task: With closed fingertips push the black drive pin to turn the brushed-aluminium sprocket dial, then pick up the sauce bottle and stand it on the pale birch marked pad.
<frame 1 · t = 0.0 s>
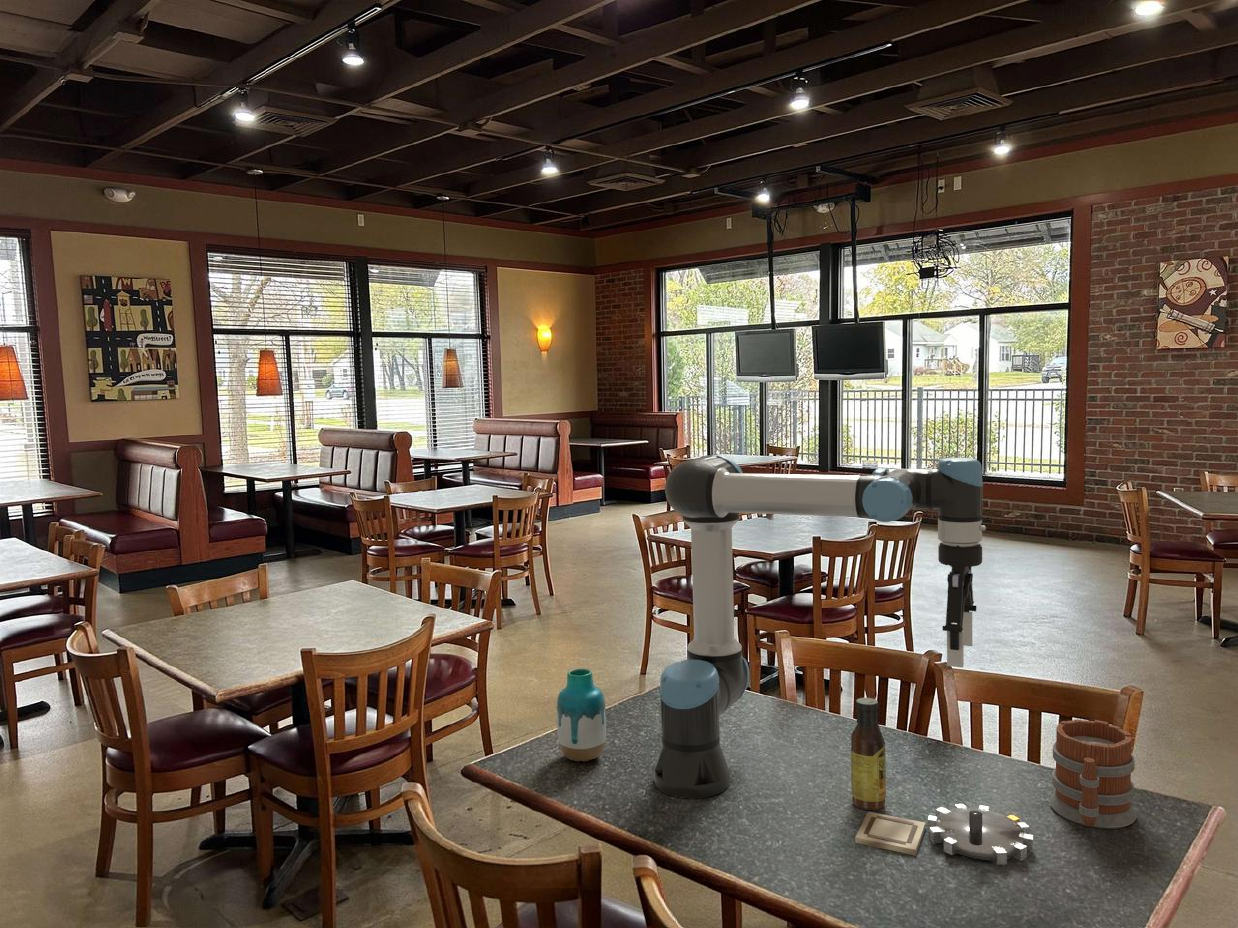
hand: (960, 655, 163), 28 cm above the table, fingers open, 13 cm apart
mug: (1091, 818, 158), on the table
marked pad: (890, 835, 154), on the table
sauce bottle: (868, 804, 165), on the table
index mark: (985, 815, 159), on the table
sprocket: (979, 817, 151), point 4 cm above the table, hinge at 0.0°
vase: (583, 758, 190), on the table
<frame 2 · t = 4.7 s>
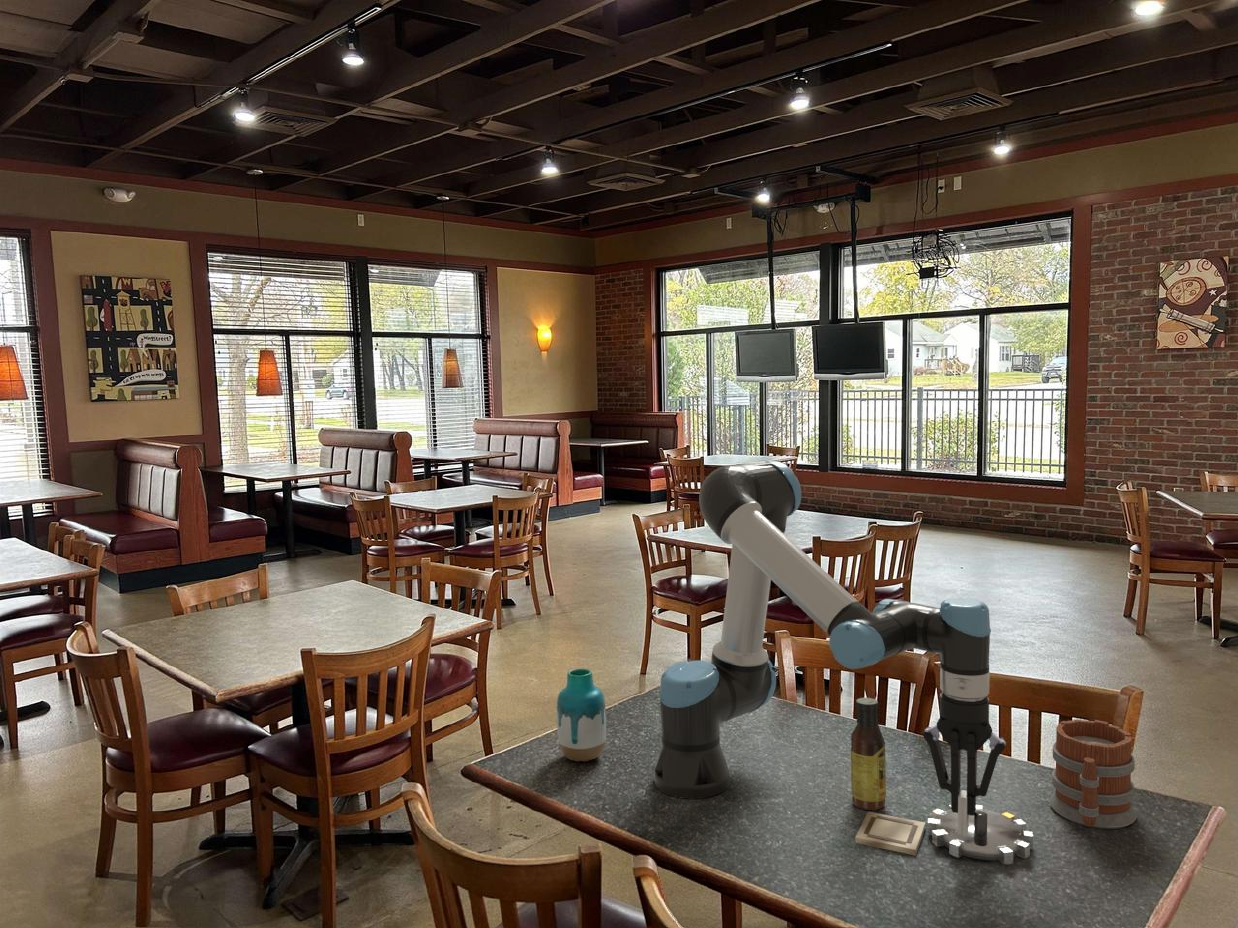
hand: (963, 831, 146), 4 cm above the table, fingers closed
sprocket: (979, 817, 151), point 4 cm above the table, hinge at 7.9°, touching gripper
everything else where it was.
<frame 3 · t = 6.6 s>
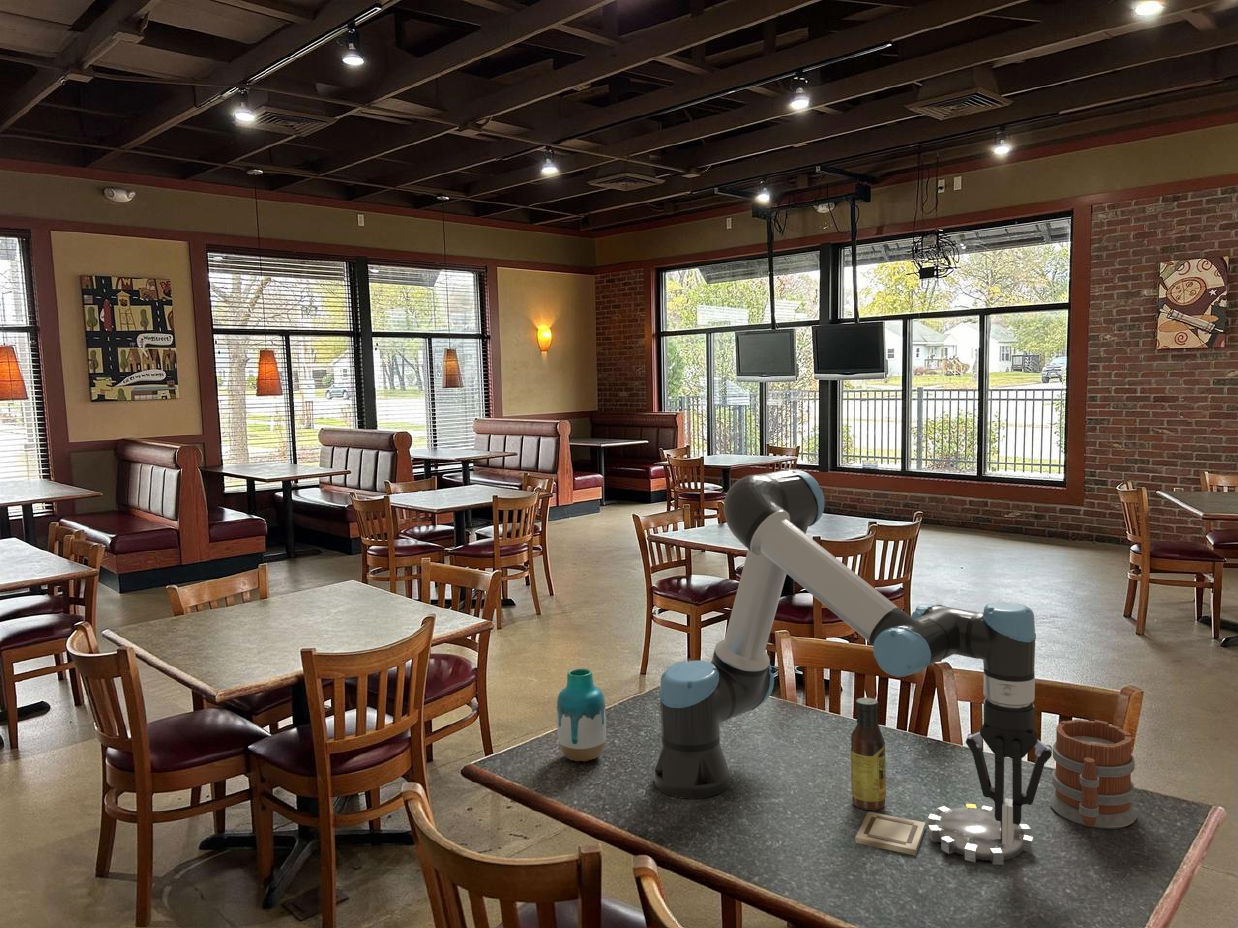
hand: (1007, 840, 143), 4 cm above the table, fingers closed
sprocket: (977, 817, 151), point 4 cm above the table, hinge at 56.1°, touching gripper
everything else where it was.
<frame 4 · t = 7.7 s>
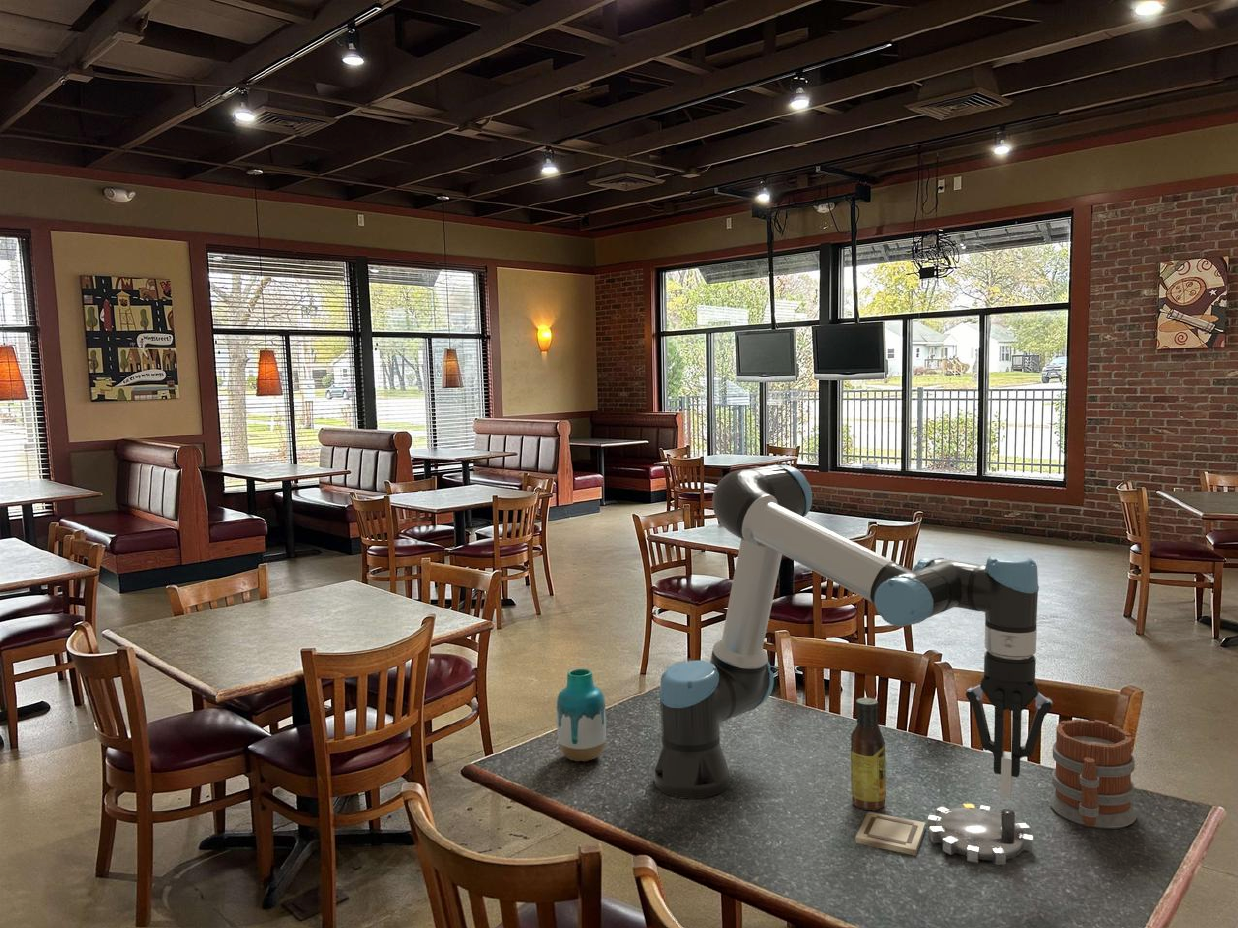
hand: (1006, 793, 143), 12 cm above the table, fingers closed
sprocket: (977, 817, 151), point 4 cm above the table, hinge at 58.7°
everything else where it was.
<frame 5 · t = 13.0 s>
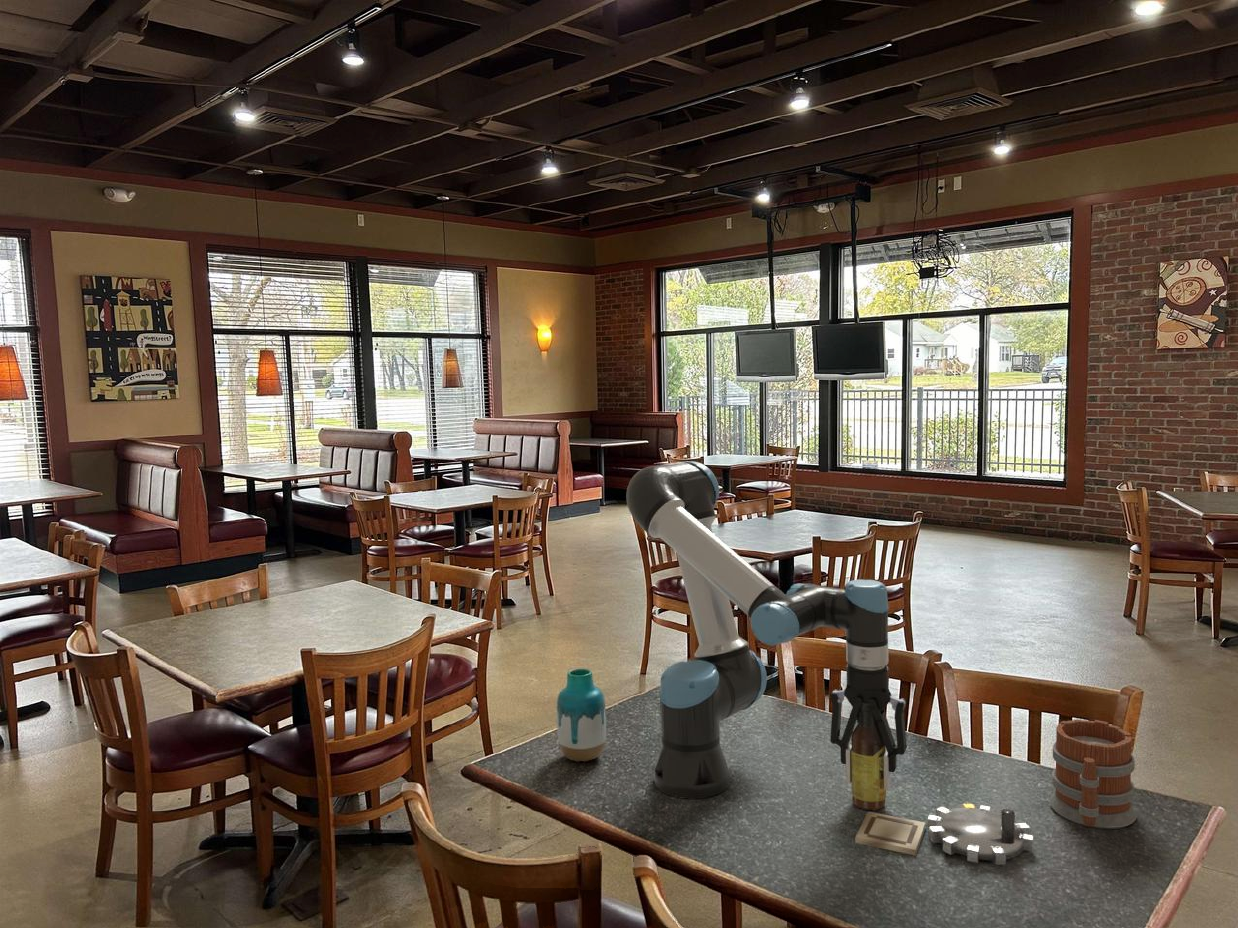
hand: (868, 783, 165), 4 cm above the table, fingers closed on sauce bottle, 6 cm apart
sauce bottle: (868, 804, 165), on the table, touching gripper
everything else where it was.
when the fingers open (6 cm above the table, at t = 18.7 s): sauce bottle stays where it is, resting on marked pad.
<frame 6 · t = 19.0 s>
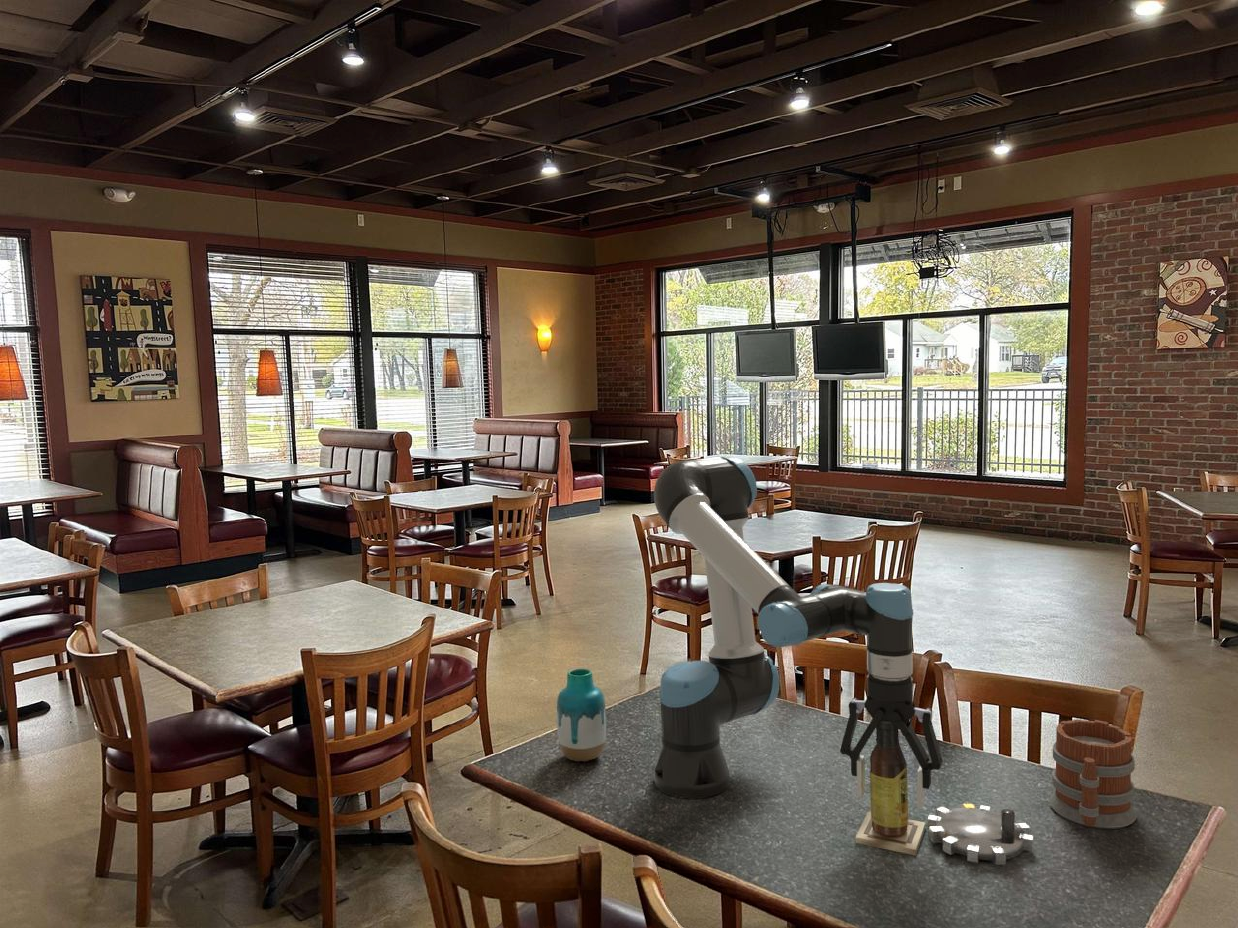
hand: (890, 798, 153), 7 cm above the table, fingers open, 9 cm apart
sauce bottle: (889, 830, 154), point 1 cm above the table, touching marked pad
everything else where it was.
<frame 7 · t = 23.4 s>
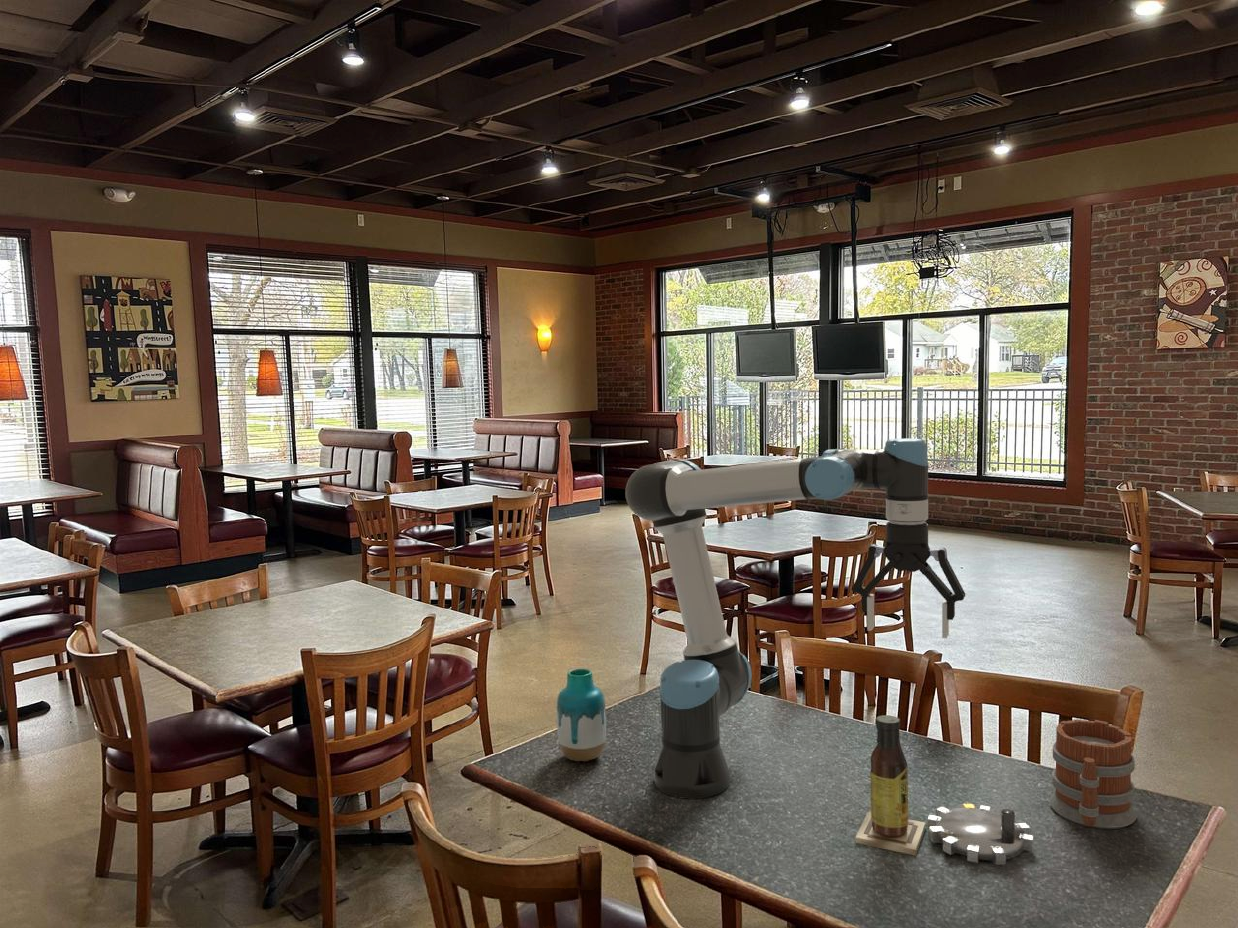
hand: (907, 632, 166), 32 cm above the table, fingers open, 13 cm apart
nothing on the table moved.
at the end: sprocket at +59° (first picture: +0°); sauce bottle inside the target area on the marked pad (0.2 cm from its centre), point 0.8 cm above the marked pad's base; sauce bottle tilted 0° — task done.
